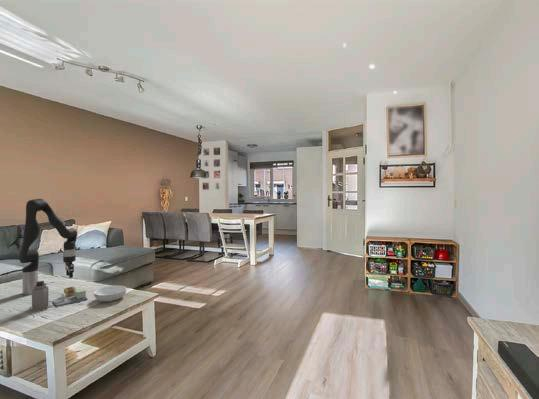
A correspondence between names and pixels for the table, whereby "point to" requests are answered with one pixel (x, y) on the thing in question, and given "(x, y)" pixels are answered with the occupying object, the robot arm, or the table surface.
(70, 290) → the sleeve
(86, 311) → the table surface
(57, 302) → the board
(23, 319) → the table surface
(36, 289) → the perfume bottle
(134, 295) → the table surface
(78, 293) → the block
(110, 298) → the serving bowl
